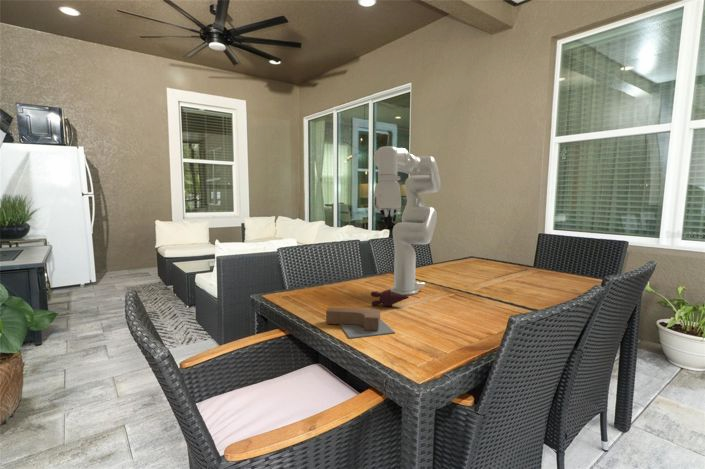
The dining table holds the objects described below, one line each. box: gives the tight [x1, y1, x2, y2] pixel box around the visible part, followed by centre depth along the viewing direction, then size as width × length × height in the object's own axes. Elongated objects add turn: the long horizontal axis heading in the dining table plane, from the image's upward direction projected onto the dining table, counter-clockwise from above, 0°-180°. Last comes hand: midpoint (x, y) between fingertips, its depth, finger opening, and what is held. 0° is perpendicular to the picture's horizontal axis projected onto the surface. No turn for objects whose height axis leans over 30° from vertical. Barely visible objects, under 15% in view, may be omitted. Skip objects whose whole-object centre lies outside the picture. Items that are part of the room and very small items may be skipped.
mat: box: [338, 318, 396, 339], centre depth 120 cm, size 15×20×1 cm
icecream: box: [370, 288, 410, 308], centre depth 141 cm, size 7×7×15 cm
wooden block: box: [325, 306, 381, 331], centre depth 119 cm, size 9×4×18 cm
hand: (387, 226), depth 140 cm, fingers closed
